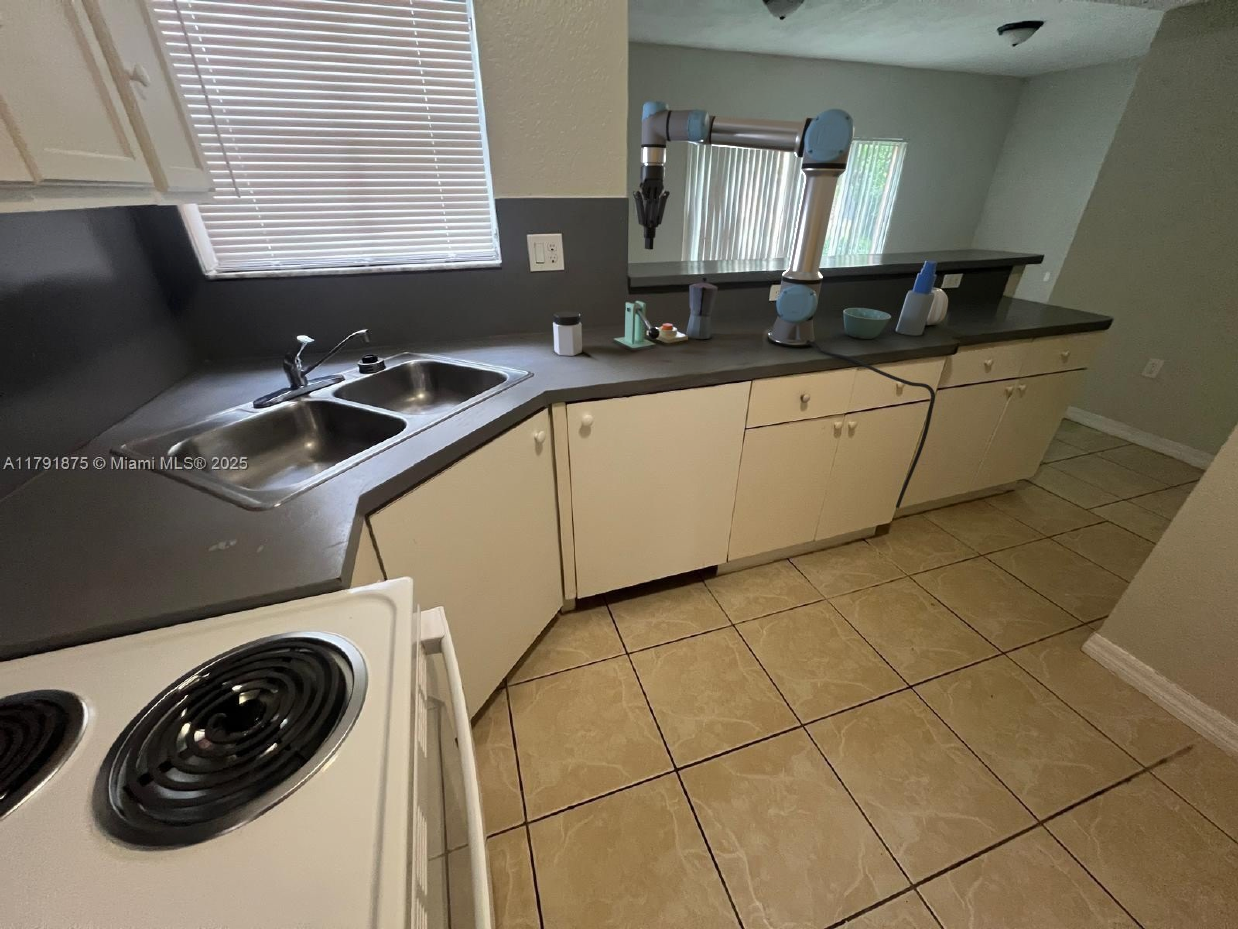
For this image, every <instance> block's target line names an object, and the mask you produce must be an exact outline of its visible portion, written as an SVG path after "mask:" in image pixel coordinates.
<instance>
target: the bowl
mask: <svg viewBox="0 0 1238 929" xmlns="http://www.w3.org/2000/svg"><path fill="white" fill-rule="evenodd" d="M891 318H892V316H891V315H890V314H889V313H888V312H884V311H881V310H877V309H873V308H872V309H871V308H864V307H849V308H845V309H844V310H843V323H844V332H846V334H847V335H848V336H849V337H852V338H855V339H859V340H860V339H861V340H872V339H874V338H876V337H878V336H879V335H880V334H881V332H882V331H883V329H885V327H886V325H887V324H888V323H889V321H890V319H891Z"/></svg>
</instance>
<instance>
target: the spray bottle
mask: <svg viewBox="0 0 1238 929" xmlns="http://www.w3.org/2000/svg"><path fill="white" fill-rule="evenodd" d="M937 265H938V261H935V260H925V261H924V264H923V267H922V268H921V270H920V272H918V273H917V275H916V279H915V282H914V285H913V287H912V288H913V289H910V290H908V292H907V293H906V295H905V299H904V302H903V306H902V309H901V312H900V315H899V319H898V322H897V326H896V328H895V332H896V333H898V334H902V335H906V336H921V335H923V332H924V330H925V326H926V325H925V324H926V321H927V318H928V315H929V312H930V309H931V306H932V303H933V300H934V297H935V296H934V295H935V293H933V292H931V291H932V288H934V285H935V282H936V279H937V274H936V271H937Z"/></svg>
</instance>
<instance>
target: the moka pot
mask: <svg viewBox="0 0 1238 929" xmlns="http://www.w3.org/2000/svg"><path fill="white" fill-rule="evenodd" d="M701 280H702V282H698V283H693V284H690V285H689V309H690V312H689V313H690V314H689V320H688V324H687V327H686V331H685V335H687V336H688V338H691V339H693V340H694V339H695V340H707V339H710V338H711V330H712V329H711V325H712V324H711V314H712V310H713V309H714V305H715V301H716V297H717V292H718V286H716V285H714V284H711V283H708V282H707V280H708V278H707V277H702V279H701Z"/></svg>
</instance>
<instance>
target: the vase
mask: <svg viewBox="0 0 1238 929" xmlns="http://www.w3.org/2000/svg"><path fill="white" fill-rule="evenodd" d="M931 292H933V293H935V295H934V296H935V297H934V300H933V303H932V306H931V309H930V312H929V315H928V318H927V321H926V324H925V326H935V325H937V324H939V323H941V322H942V321H944V320H945V317H946V315H947V311H948V307H949V297H948V295H947V294H946V292H945V291H944V290H942V289H941V288H939V287H933V288H932V291H931Z"/></svg>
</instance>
